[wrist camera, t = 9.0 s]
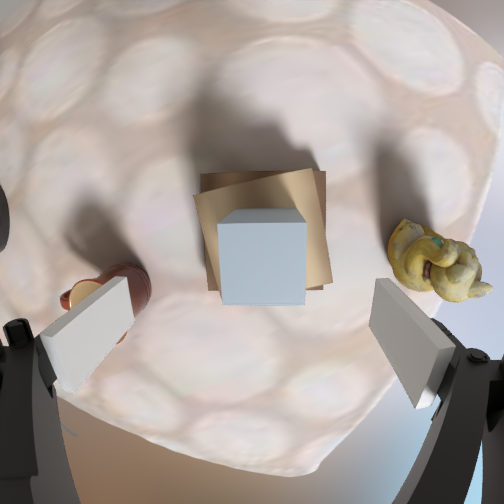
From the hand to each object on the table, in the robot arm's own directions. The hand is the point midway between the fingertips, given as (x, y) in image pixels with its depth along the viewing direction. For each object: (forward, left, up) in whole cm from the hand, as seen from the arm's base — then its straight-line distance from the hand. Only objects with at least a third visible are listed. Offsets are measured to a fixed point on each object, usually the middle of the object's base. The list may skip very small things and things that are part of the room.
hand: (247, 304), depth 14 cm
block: (+1, 0, -15) cm, 15 cm away
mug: (-21, -8, -23) cm, 32 cm away
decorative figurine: (+20, -3, -23) cm, 30 cm away
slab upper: (0, 0, -19) cm, 19 cm away
